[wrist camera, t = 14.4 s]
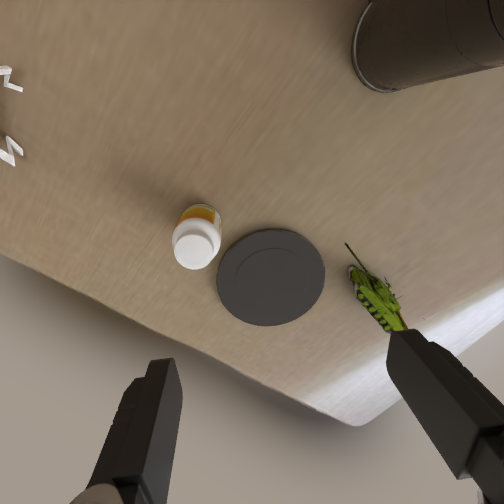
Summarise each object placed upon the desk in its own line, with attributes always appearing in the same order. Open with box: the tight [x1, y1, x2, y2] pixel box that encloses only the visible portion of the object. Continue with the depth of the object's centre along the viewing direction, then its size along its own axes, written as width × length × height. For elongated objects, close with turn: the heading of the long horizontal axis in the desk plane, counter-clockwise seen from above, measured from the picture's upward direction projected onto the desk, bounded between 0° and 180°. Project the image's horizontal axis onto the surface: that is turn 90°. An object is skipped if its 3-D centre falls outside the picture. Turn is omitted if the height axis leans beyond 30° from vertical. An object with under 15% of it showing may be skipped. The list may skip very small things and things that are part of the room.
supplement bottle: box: [172, 204, 222, 269], centre depth 32 cm, size 5×5×10 cm
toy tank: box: [344, 242, 425, 334], centre depth 40 cm, size 7×19×10 cm
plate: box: [217, 229, 325, 326], centre depth 41 cm, size 16×16×1 cm
